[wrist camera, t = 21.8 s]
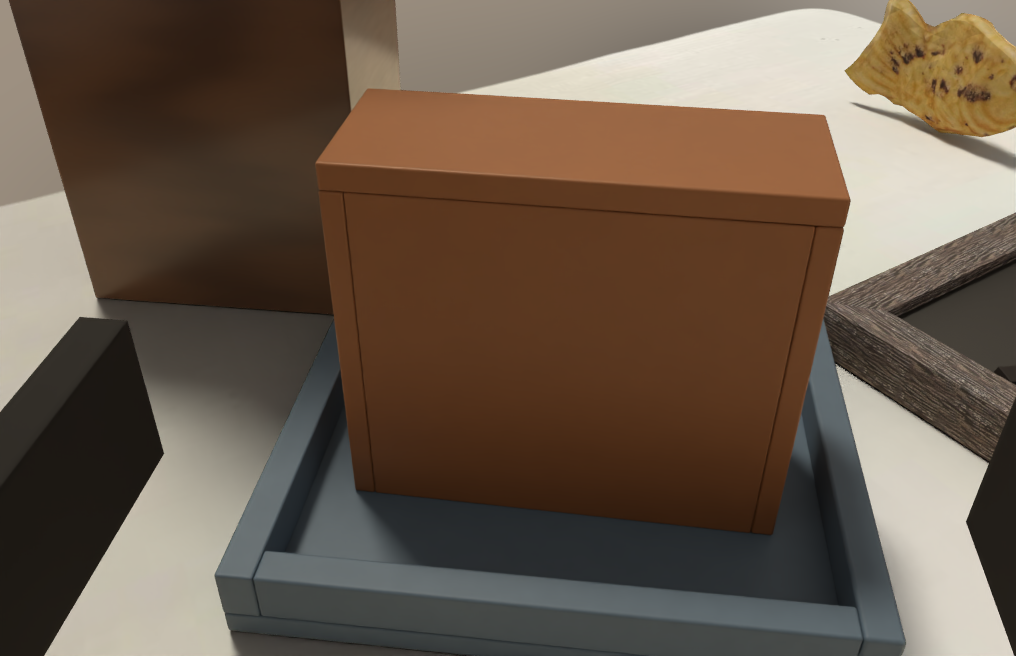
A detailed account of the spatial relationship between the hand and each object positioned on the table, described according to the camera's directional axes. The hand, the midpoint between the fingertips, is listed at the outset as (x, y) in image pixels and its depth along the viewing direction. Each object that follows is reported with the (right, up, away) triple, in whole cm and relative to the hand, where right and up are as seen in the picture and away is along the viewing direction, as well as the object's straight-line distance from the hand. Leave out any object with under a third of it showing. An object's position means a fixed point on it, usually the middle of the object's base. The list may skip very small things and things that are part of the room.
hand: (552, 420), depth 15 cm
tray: (+1, -2, +10) cm, 10 cm away
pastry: (+17, +10, +27) cm, 34 cm away
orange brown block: (+1, -2, +9) cm, 10 cm away
